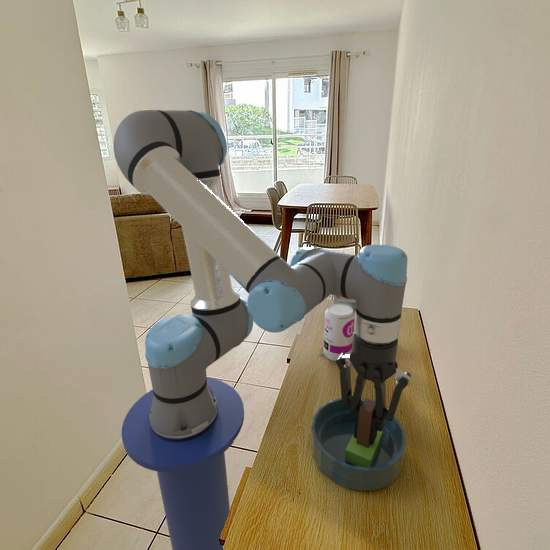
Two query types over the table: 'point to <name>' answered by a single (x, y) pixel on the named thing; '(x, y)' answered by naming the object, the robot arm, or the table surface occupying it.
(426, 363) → the table surface
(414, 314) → the table surface
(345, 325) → the supplement can
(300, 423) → the table surface
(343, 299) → the coffee mug
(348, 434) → the bowl
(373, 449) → the sponge brush
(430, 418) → the table surface
